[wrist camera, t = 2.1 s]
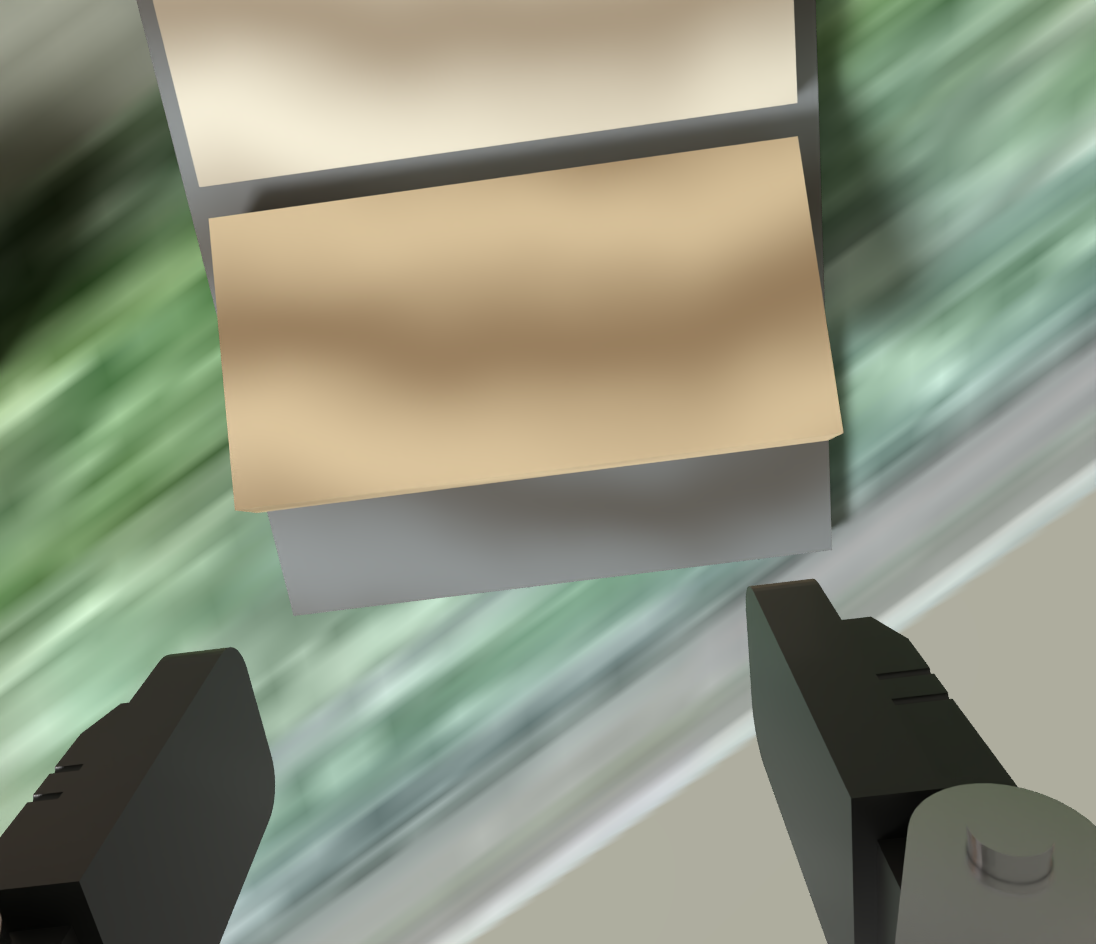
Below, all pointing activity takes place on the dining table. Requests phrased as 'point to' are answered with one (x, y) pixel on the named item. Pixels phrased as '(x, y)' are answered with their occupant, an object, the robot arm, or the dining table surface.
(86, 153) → the dining table surface
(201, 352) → the dining table surface
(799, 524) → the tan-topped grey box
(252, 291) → the oak plank
